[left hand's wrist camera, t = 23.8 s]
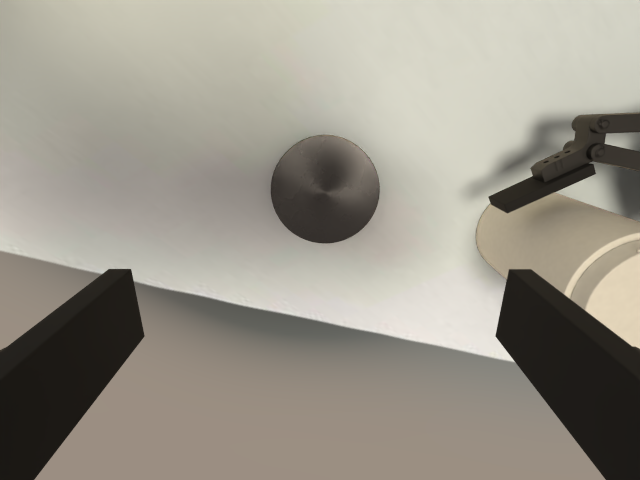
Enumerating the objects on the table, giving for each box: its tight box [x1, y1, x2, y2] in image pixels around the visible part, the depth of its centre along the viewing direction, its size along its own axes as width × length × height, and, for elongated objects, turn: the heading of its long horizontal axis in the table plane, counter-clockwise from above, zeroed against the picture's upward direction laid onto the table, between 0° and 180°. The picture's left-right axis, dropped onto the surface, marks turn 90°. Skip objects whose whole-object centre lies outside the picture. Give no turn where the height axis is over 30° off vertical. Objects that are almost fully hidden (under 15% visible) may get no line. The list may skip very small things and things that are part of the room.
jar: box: [476, 193, 640, 349], centre depth 28 cm, size 9×9×15 cm
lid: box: [271, 135, 380, 243], centre depth 34 cm, size 10×10×2 cm
